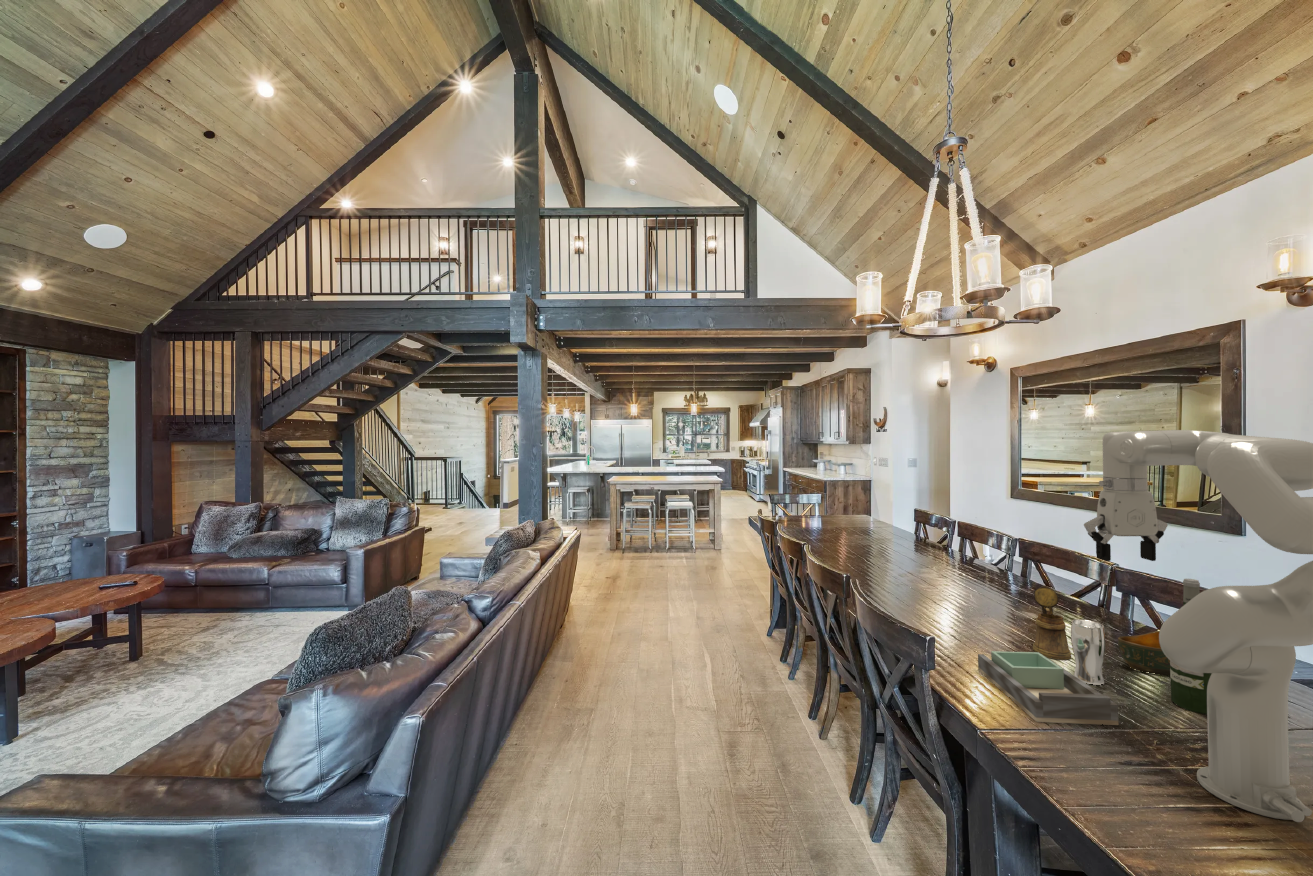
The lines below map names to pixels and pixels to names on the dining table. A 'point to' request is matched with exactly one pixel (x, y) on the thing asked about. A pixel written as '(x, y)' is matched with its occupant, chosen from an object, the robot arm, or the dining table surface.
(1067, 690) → the bay
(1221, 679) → the robot arm
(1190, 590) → the wine bottle
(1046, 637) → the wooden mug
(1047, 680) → the box
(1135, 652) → the green gold bowl
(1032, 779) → the dining table surface
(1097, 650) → the beer glass
